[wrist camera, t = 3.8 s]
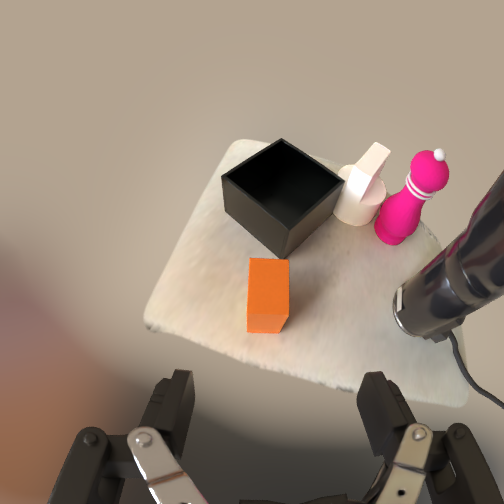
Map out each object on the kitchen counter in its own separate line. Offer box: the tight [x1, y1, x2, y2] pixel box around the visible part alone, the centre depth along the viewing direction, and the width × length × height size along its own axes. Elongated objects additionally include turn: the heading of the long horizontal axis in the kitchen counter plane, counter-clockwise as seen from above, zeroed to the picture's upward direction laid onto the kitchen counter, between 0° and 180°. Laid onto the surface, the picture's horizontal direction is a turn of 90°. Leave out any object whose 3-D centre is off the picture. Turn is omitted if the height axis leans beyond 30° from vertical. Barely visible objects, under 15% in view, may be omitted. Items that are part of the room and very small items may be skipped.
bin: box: [221, 138, 345, 259], centre depth 43 cm, size 13×13×9 cm
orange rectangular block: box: [247, 258, 289, 333], centre depth 34 cm, size 4×6×10 cm
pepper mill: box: [374, 148, 449, 245], centre depth 36 cm, size 7×7×20 cm
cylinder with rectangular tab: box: [333, 142, 390, 226], centre depth 42 cm, size 9×9×12 cm
